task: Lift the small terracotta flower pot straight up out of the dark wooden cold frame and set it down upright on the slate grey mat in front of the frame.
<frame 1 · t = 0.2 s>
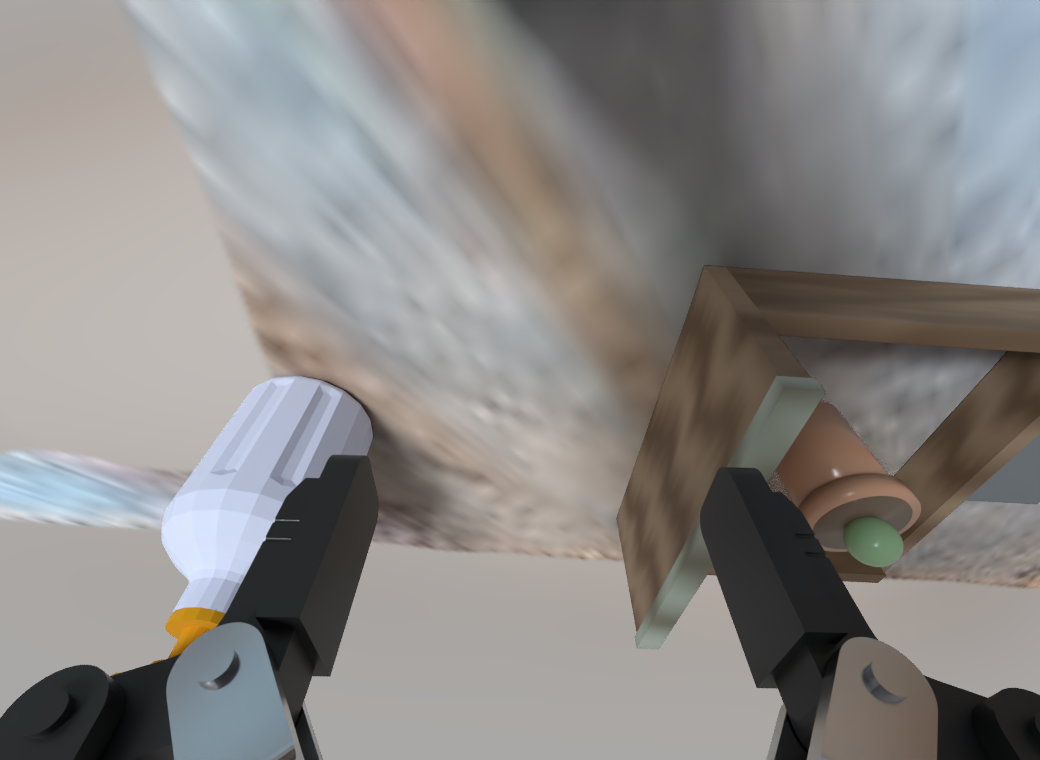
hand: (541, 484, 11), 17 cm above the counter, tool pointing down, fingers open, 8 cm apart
cold frame: (799, 429, 34), on the counter
soap bottle: (313, 418, 34), on the counter
slate mat: (1029, 441, 35), on the counter
terracotta pot: (799, 429, 34), resting in cold frame
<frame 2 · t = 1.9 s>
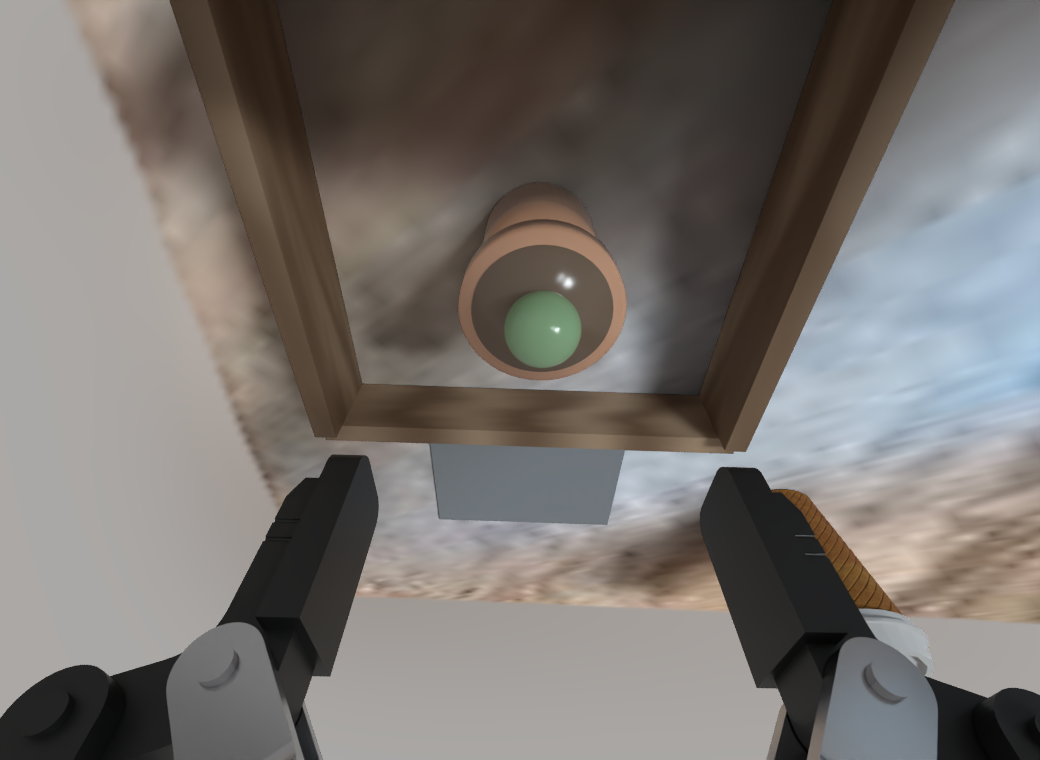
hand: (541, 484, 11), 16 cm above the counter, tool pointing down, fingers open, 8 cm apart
cold frame: (538, 239, 24), on the counter
disposable coffee cup: (769, 511, 37), on the counter
slate mat: (526, 470, 35), on the counter
terracotta pot: (538, 238, 24), resting in cold frame
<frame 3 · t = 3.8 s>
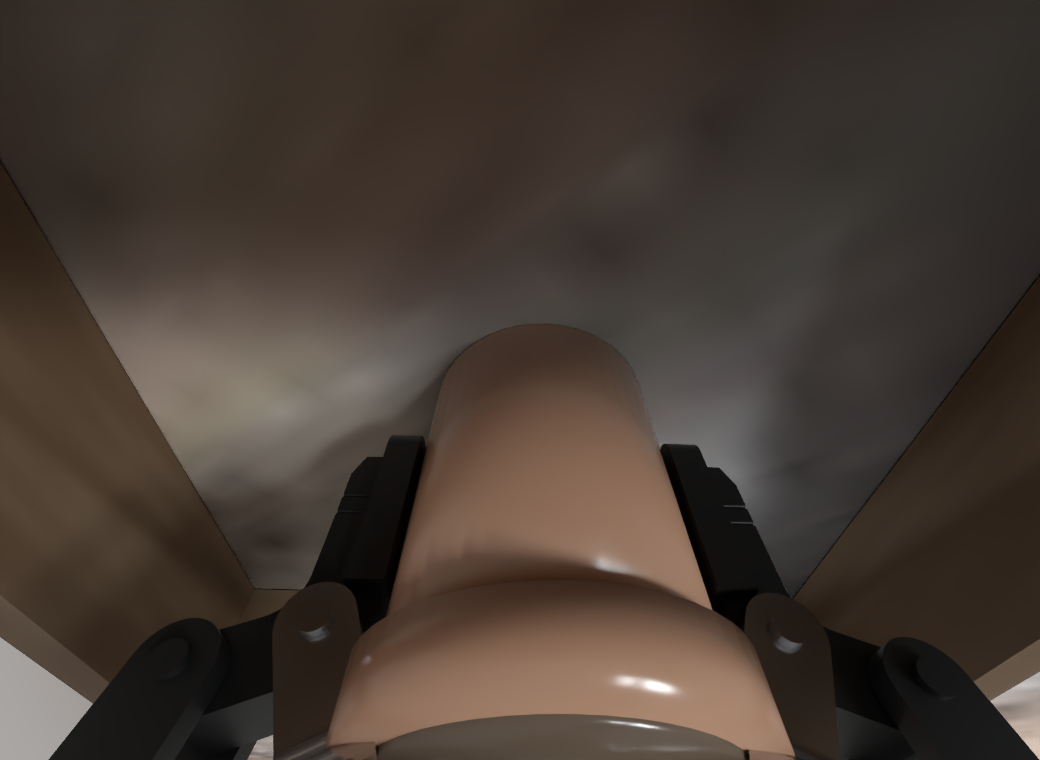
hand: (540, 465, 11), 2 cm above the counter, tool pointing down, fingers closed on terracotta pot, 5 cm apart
cold frame: (539, 411, 13), on the counter
terracotta pot: (539, 411, 13), resting in cold frame, touching gripper
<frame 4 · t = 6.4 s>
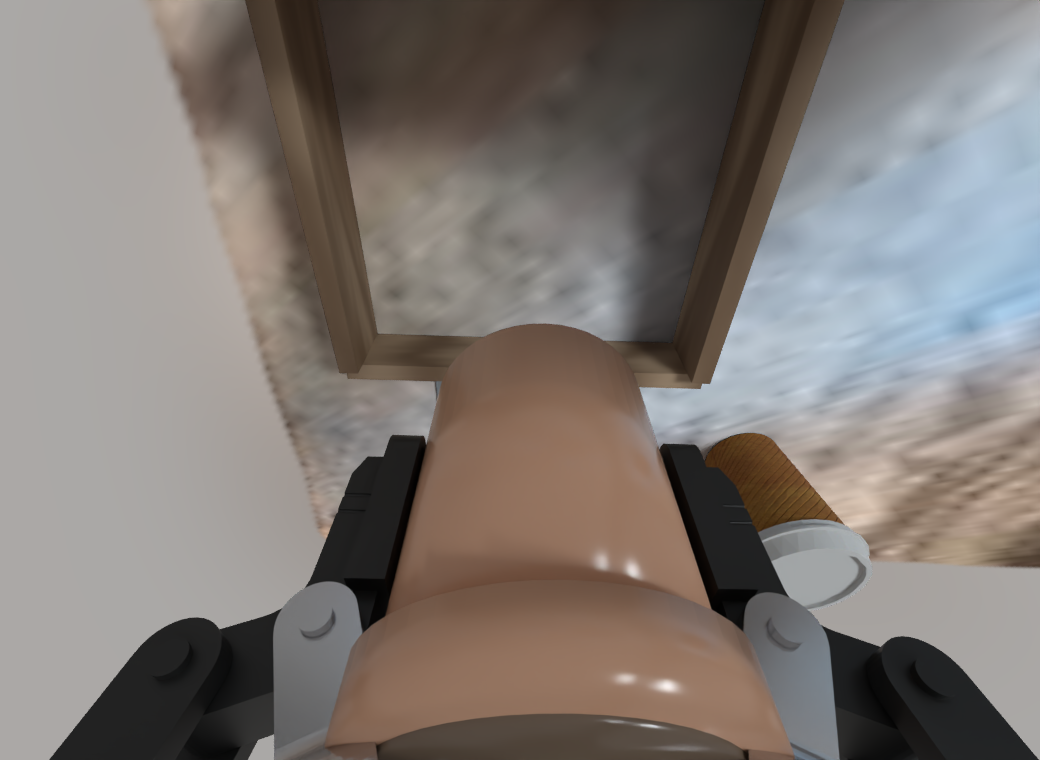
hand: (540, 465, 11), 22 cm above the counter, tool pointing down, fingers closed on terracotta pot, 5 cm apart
cold frame: (531, 199, 28), on the counter
disposable coffee cup: (739, 456, 42), on the counter
terracotta pot: (538, 410, 13), point 19 cm above the counter, touching gripper
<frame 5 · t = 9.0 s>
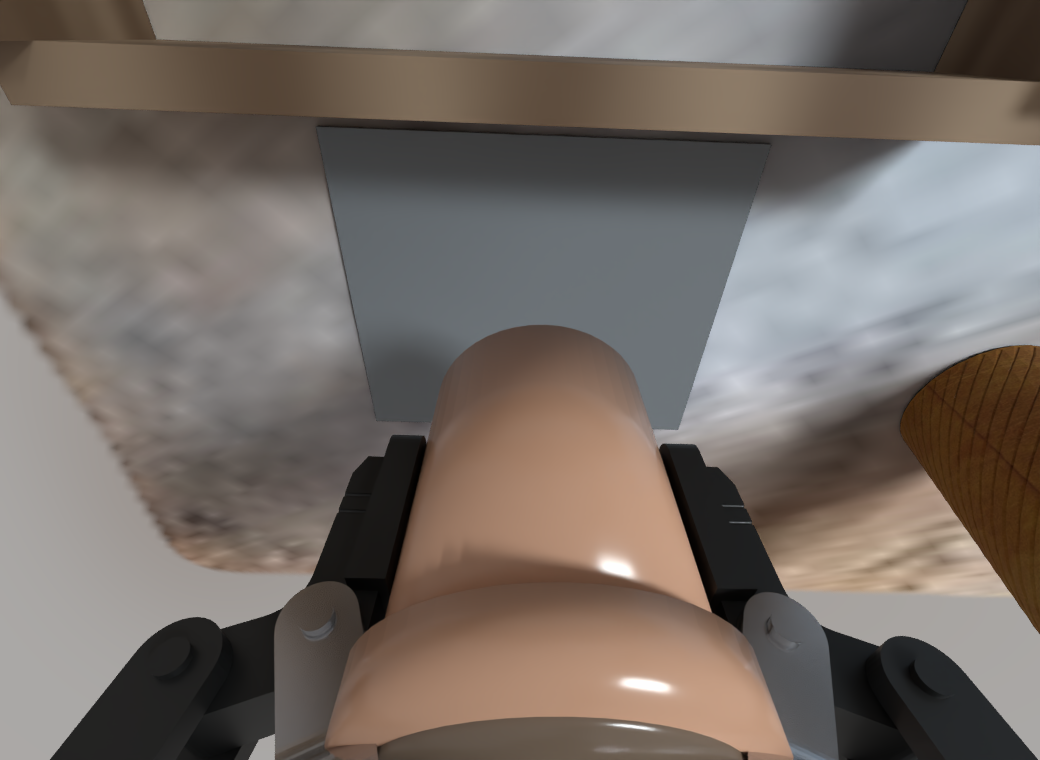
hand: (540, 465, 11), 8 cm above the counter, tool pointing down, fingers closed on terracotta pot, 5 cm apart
disposable coffee cup: (974, 400, 21), on the counter
slate mat: (534, 306, 18), on the counter
terracotta pot: (538, 411, 13), point 6 cm above the counter, touching gripper
when the fingers open (3 cm above the counter, at t = 10.4 s): terracotta pot drops 1 cm, resting on slate mat.
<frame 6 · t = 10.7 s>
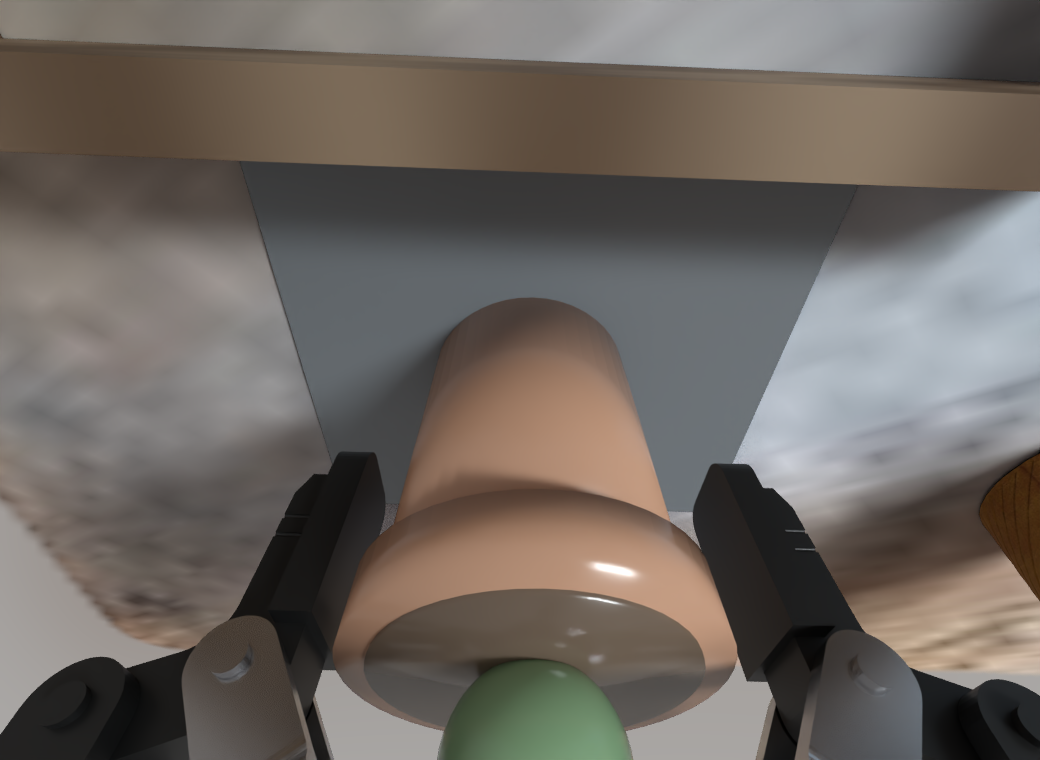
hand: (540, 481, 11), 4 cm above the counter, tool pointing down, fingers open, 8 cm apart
slate mat: (536, 376, 14), on the counter
terracotta pot: (529, 381, 14), resting on slate mat
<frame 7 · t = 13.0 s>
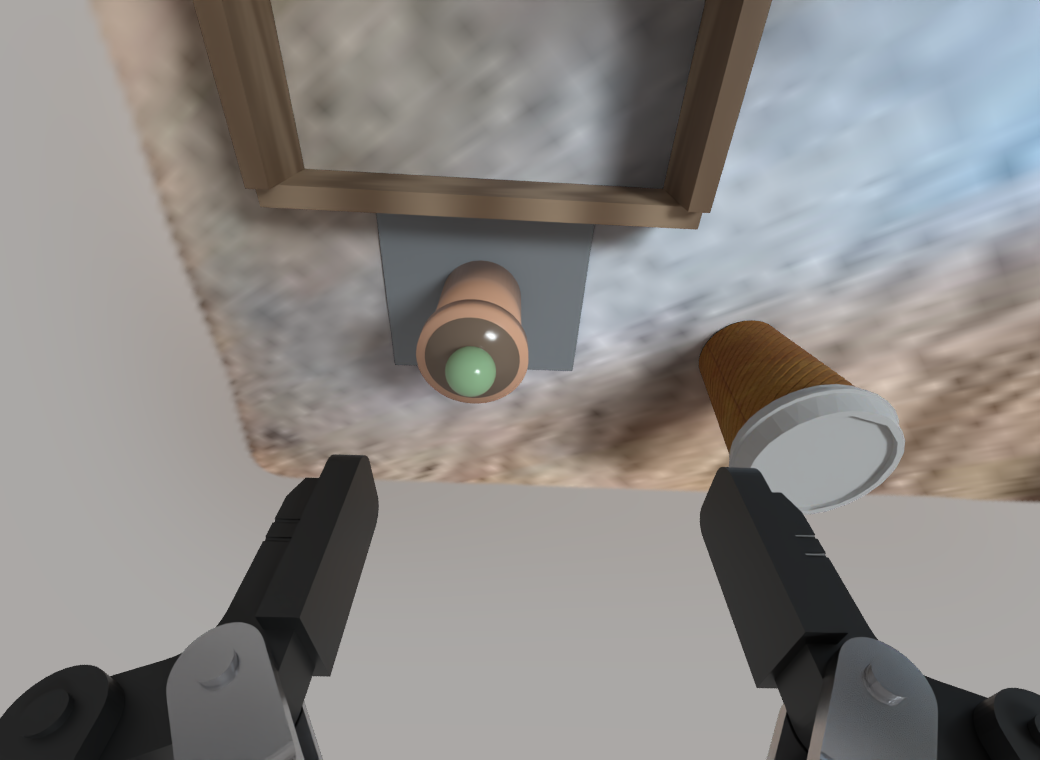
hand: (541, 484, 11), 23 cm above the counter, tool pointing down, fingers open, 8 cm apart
disposable coffee cup: (738, 353, 36), on the counter
slate mat: (485, 296, 33), on the counter
terracotta pot: (481, 298, 33), resting on slate mat
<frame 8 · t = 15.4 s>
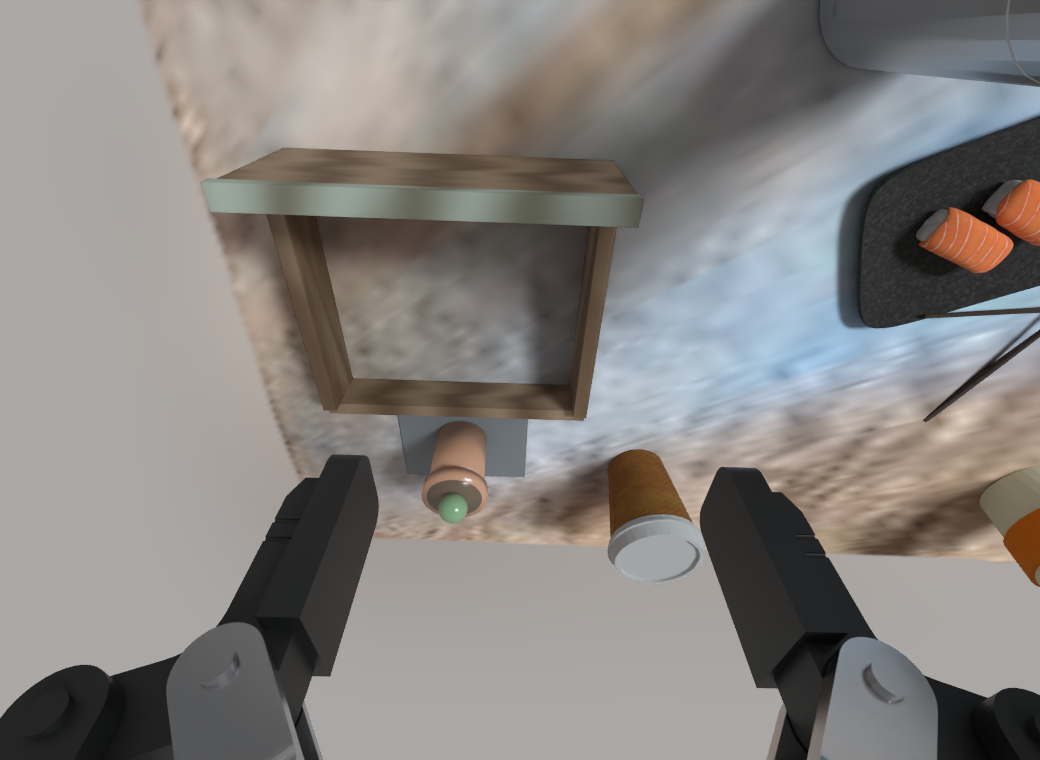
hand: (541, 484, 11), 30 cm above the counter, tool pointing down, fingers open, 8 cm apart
cold frame: (456, 292, 41), on the counter
reusable coffee cup: (1020, 489, 56), on the counter
disposable coffee cup: (634, 466, 54), on the counter
sushi plate: (1023, 278, 40), on the counter
slate mat: (464, 437, 52), on the counter
terracotta pot: (461, 439, 51), resting on slate mat
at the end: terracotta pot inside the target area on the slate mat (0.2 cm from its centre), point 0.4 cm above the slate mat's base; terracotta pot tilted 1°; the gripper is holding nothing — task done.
